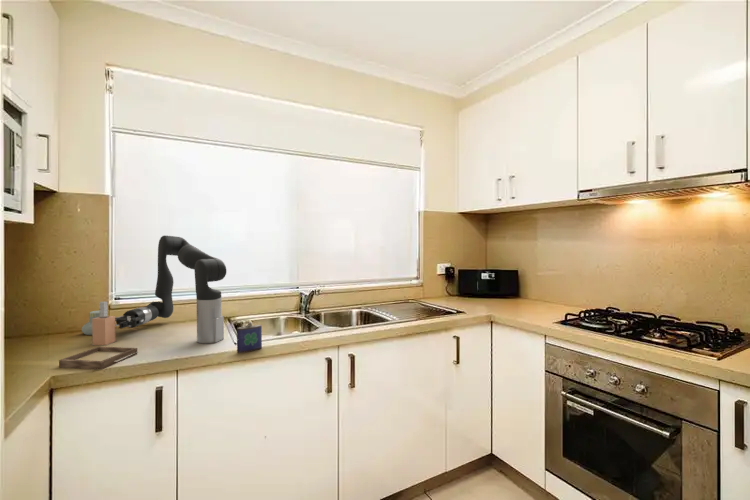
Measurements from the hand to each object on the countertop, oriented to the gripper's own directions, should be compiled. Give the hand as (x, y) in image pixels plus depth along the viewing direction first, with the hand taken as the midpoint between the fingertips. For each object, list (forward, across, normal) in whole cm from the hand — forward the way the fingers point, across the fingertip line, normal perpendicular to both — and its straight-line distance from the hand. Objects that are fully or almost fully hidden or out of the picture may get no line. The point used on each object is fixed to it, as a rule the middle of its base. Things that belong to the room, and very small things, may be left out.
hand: (109, 325), depth 144 cm
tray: (+19, +12, +7) cm, 24 cm away
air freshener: (-12, -15, +7) cm, 21 cm away
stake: (+3, 0, +7) cm, 8 cm away
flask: (+6, +58, +7) cm, 59 cm away
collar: (+3, 0, +6) cm, 7 cm away
